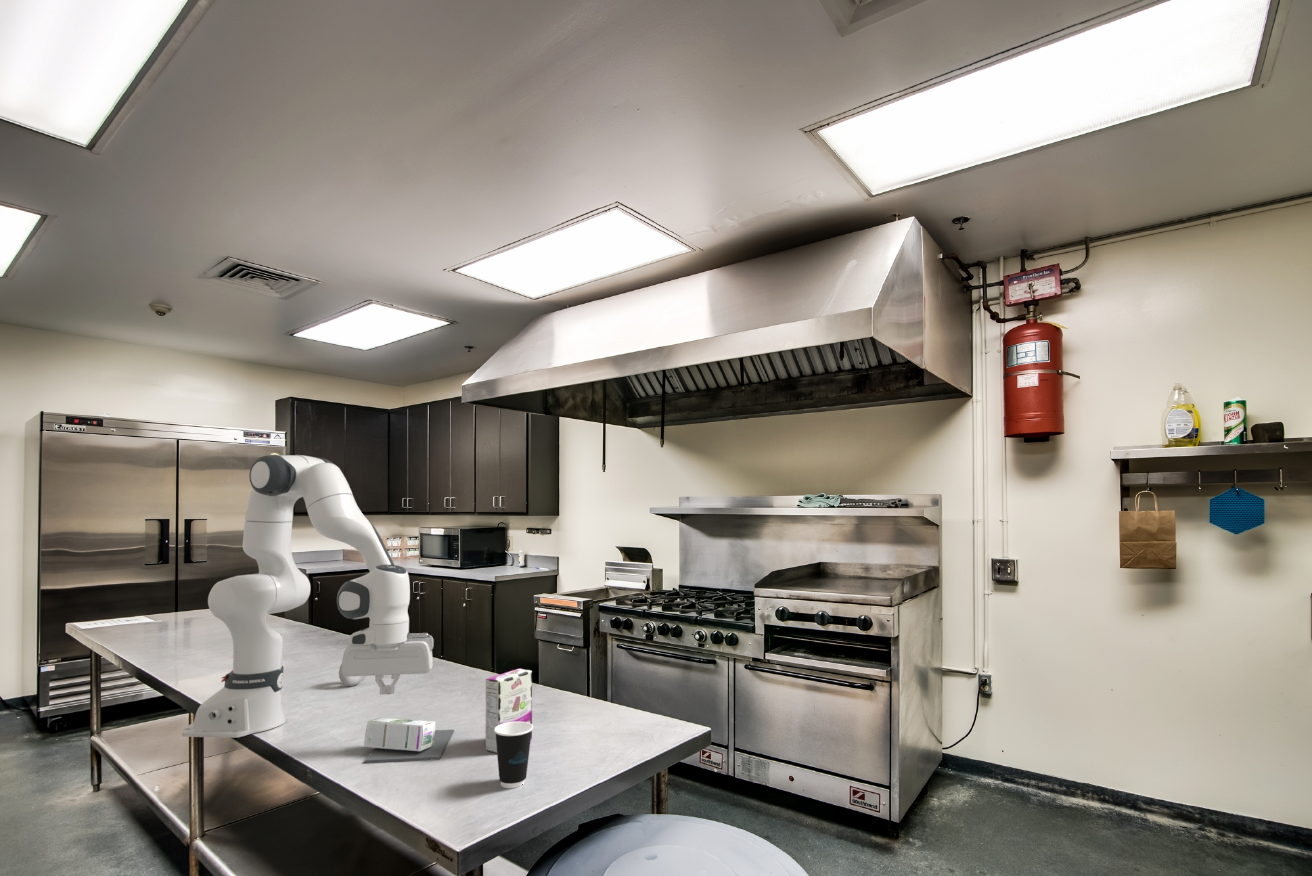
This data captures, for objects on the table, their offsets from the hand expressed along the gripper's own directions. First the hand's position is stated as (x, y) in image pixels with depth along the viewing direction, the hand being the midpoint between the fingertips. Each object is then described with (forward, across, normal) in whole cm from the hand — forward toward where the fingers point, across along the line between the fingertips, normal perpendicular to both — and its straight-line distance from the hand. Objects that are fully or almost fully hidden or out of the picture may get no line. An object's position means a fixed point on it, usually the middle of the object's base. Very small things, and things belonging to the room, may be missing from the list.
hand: (387, 693), depth 154 cm
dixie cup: (+13, -32, +24) cm, 42 cm away
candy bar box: (+13, -29, +2) cm, 31 cm away
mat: (+12, -6, 0) cm, 14 cm away
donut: (+12, +26, -57) cm, 64 cm away
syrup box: (+8, +3, 0) cm, 9 cm away
